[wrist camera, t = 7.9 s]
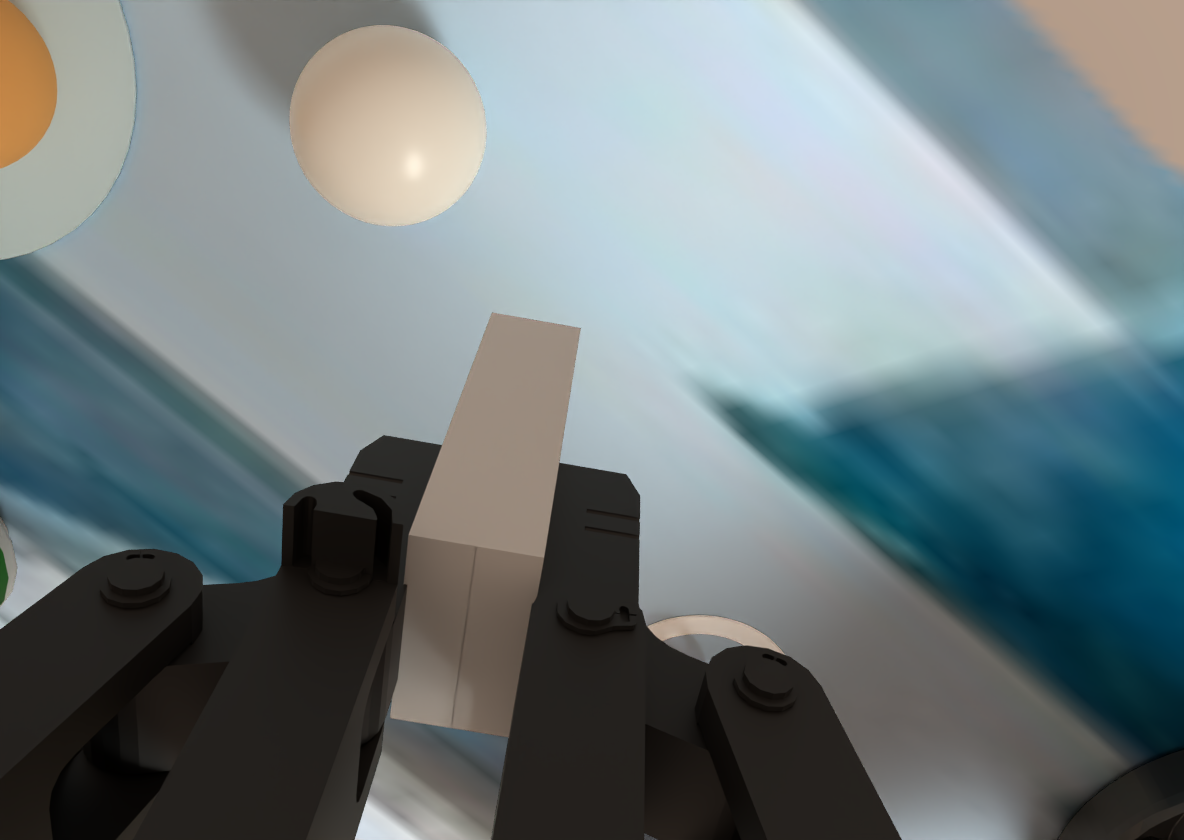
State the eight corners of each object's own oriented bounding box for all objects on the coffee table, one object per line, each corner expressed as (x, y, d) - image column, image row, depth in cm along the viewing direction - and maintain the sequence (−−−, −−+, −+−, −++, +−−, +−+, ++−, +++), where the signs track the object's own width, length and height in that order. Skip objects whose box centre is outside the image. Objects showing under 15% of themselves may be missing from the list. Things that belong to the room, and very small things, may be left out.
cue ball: (244, 179, 26) (260, 139, 31) (429, 285, 28) (417, 233, 33) (352, -13, 25) (351, -23, 29) (537, 114, 27) (508, 86, 32)
